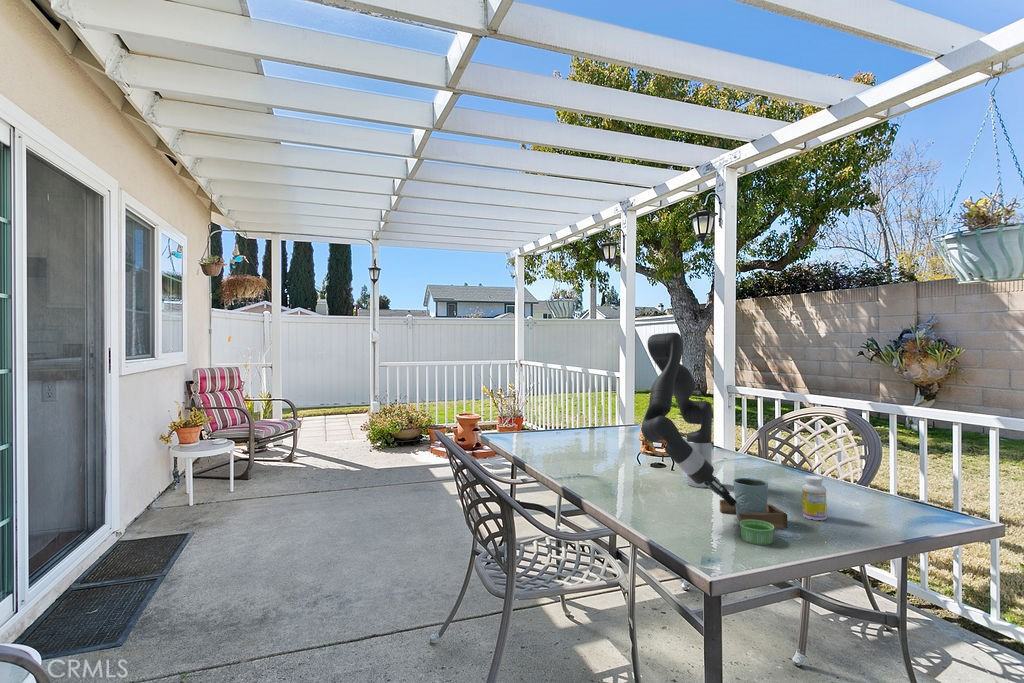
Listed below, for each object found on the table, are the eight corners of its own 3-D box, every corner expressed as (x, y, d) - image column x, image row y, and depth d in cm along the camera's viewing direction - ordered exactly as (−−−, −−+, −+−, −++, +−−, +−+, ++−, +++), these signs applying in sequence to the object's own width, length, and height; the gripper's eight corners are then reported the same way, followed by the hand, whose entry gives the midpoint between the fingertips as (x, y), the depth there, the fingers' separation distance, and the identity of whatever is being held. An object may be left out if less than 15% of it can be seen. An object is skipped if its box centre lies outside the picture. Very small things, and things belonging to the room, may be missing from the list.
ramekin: (749, 532, 151) (749, 517, 151) (780, 541, 143) (780, 525, 143) (733, 539, 145) (733, 523, 145) (764, 548, 138) (764, 532, 138)
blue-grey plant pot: (750, 526, 155) (750, 487, 155) (726, 516, 164) (725, 479, 164) (776, 522, 158) (775, 483, 158) (750, 512, 168) (750, 476, 168)
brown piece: (719, 511, 169) (719, 499, 169) (762, 511, 169) (762, 499, 169) (740, 528, 154) (740, 514, 154) (787, 527, 154) (787, 514, 154)
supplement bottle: (806, 512, 167) (805, 473, 167) (829, 517, 162) (828, 477, 162) (799, 517, 162) (799, 477, 162) (823, 522, 157) (822, 481, 158)
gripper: (710, 461, 155) (751, 501, 155) (695, 452, 168) (732, 489, 168) (693, 479, 155) (734, 519, 155) (679, 468, 168) (717, 505, 168)
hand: (733, 503), depth 161 cm, fingers closed
